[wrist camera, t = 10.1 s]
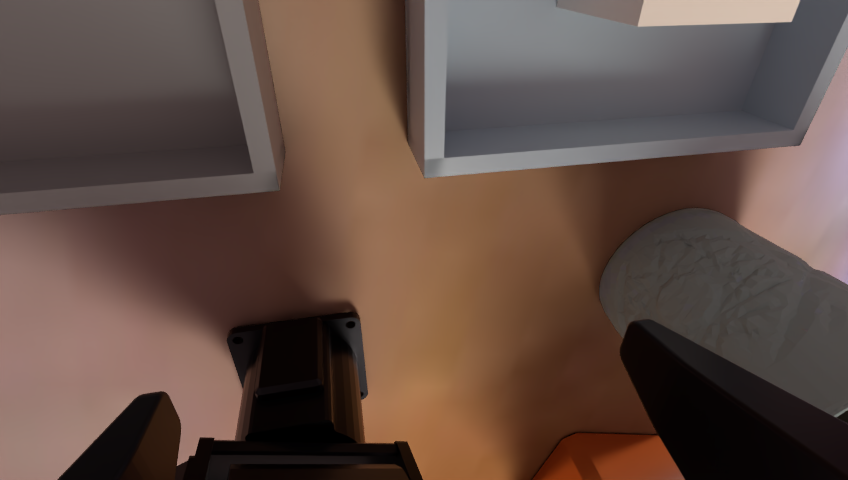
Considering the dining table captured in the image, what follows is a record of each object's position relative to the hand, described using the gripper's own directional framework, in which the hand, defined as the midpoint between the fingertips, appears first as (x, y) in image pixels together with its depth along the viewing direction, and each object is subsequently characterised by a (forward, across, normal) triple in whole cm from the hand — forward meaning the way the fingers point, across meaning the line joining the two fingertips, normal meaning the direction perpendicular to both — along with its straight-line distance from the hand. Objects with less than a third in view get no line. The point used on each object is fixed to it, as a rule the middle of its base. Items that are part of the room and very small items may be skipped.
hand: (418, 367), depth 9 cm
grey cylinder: (+12, -17, +9) cm, 23 cm away
